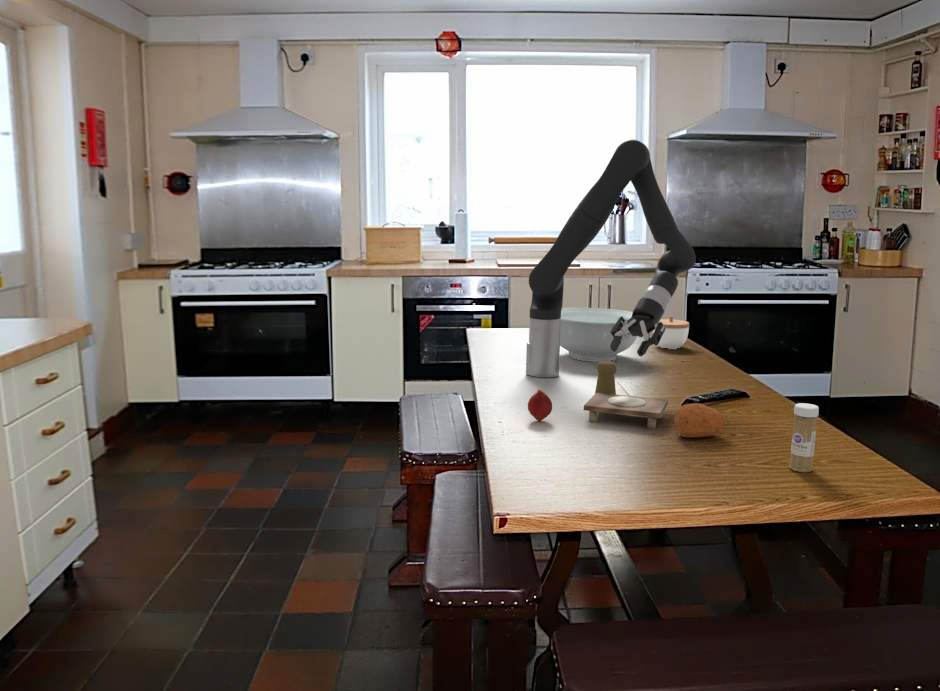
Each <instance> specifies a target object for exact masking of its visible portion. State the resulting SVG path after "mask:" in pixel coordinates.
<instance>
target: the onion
mask: <svg viewBox="0 0 940 691" xmlns="http://www.w3.org/2000/svg"><path fill="white" fill-rule="evenodd" d="M527 409H528V412H529V414H530V415H531V416H532V417H533V418H534V419H535V420H536V422H541V421H543V420H545V419H546V418H547V417H549V415H550V414H551V413H552V410H553V403H552V400H551V398H550V397H549V395H547V394H546V393H545V392H544V391H543V390H542V388H538V389H537V392H535V393H534V394H533V395H532V396H531V397H530V398H529V399H528V403H527Z"/></svg>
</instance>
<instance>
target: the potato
mask: <svg viewBox="0 0 940 691" xmlns="http://www.w3.org/2000/svg"><path fill="white" fill-rule="evenodd" d="M673 420H674V429H675V430H676V432H677V433H678V434H679V435H680V436H681V437H683V438H689V439H692V438H693V439H694V438H696V439H697V438H705V437H711V436H715V435H718V434H719V433H720V432H721V431H722V430H723V428H724V426H725V425H724V424H725V419H724V416H723V414H722V413H721V412H720V411H719V410H718V409H716V408H714V407H710V406H707V405H705V404H702V403H700V402H699V403H697V402H695V403H686V404H683V405H681V407H680V408H679V409H678V411H677V412H676V414H675V417H674V419H673Z"/></svg>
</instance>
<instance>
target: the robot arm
mask: <svg viewBox="0 0 940 691" xmlns="http://www.w3.org/2000/svg"><path fill="white" fill-rule="evenodd" d="M651 160H652V159H651V153H650V150H649V148H648V146H647V145H646V144H644V143H643V142H642V141H641V140H637V139H634V138H633V139H627V140H624V141H622V142H621V143H620V144H619V145H618V146H617V147H616V148H615V151H614V153H613V155H612V156H611V158H610V160H609V162H608V164H607V166H606V167H605V168H604V171H603V173H602V174H601V175H600V177H599V179H598V180H597V181H596V182H595V183H594V185H593V186H592V187H591V188H589V191H588V192H587V193H586V194H585V196H584V197H583V198H582V200H580V202H579V203H578V205H577V206H576V207H575V209H574V211H573V212H572V213H571V215H570V216H569V217H568V220H567V221H566V223H565V224H564V226H563V227H562V229H561V231H560V233H559V234H558V235H557V238H556V240H554V243H553V244H552V246H551V247H550V249H549V250H548V251H547V253H545V255H544V256H543V257H542V258H541V260H540V261H539V262H538V263H537V264H536V266H534V268H533V269H532V270H531V272H530V273H529V275H528V285H529V286H528V287H529V288H530V290H531V292H532V294H531V303H530V307H529V322H528V323H529V325H528V327H529V328H528V342H527V343H526V362H525V375H526V376H531V377H536V378H554V377H558V376H559V375H560V350H561V346H560V326H561V310H562V308H563V301H564V285H565V284H564V282H565V281H564V280H565V279H564V276H565V275H566V273H567V271H568V270H569V268H570V266H571V264H572V263H573V262H574V261H575V259H577V257H578V256H579V255H580V254H581V253H582V252H584V250H585V249H586V248H587V247H588V246H589V245H590V244H591V242H592V241H594V239H595V238H596V237H597V235H598V234H599V232H600V231H601V229H602V228H603V227H604V225H605V224H606V222H607V221H608V219H609V218H610V216H611V214H612V212H613V211H614V208H615V206H616V204H617V201H618V200H619V197H620V195H621V194H622V192H623V191H624V190H625V188H626V187H627V186H628V185H629V183H630V182H631V184H632V186H633V188H634V189H635V192H636V195H637V197H638V199H639V202H640V205H641V209H642V213H643V215H644V218H645V220H646V223H647V225H648V227H649V230H650V232H651V234H652V237H653V239H654V241H655V242H656V244H659V245H665V246H666V247H667V248H668V250H667V251H665V252H664V253H663V254H662V255H661V256H660V258H659V259H658V261H657V264H656V268H655V272H654V276H653V277H652V279H651V281H650V282H649V285H648V286H647V287H646V289H645V290H644V292H643V293H642V295H641V296H640V298H639V300H638V301H637V303H636V305H635V307H634V308H633V310H632V312H633V313H632V317H631V318H630V319H629V320H627V319H624V318H623V317H620V318H619V319H618V321H617V322H616V324H615V325H614V327H613V328H612V330H611V332H610V333H611V334H612V336H613V337H614V339H613V341H612V342H611V344H610V348H611V350H612V351H613V352H616V350H617V349H618V347H619V345H620V343H621V341H622V340H623V339H625V338H629V337H631V336H637V337H638V338H643V340H642V342H641V343H640V345H639V347H638V349H637V350H636V353H637V355H638V356H639V357H643V356H644V355H646V353H647V352H648V349H649V347H651V346H653V345H654V346H659V345H658V344H659V342H660V340H661V338H662V336H663V333H664V331H665V327H664V325H663V323H662V322H659V321H660V319H663V315H664V314H665V312H666V310H667V309H668V307H669V305H670V302H671V300H672V297H673V296H674V294H675V293H676V290H677V288H678V286H679V280H678V277H677V276H678V275H679V274H682V273H684V272H687V271H689V270H691V269H692V268H694V266H695V265H696V259H697V258H696V254H695V250H694V248H693V247H692V245H691V244H690V243H689V241H688V240H687V238H686V237H685V236H684V235H683V234H682V232H681V231H680V230H679V228H678V226H677V223H676V221H675V219H674V216H673V215H672V214H673V213H672V211H671V210H670V208H669V206H668V203H667V202H666V199H665V198H664V195H663V192H662V190H661V188H660V186H659V184H658V181H657V178H656V175H655V172H654V169H653V165H652V164H653V163H652V161H651ZM627 329H628V330H629V333H627V332H626V330H627ZM616 330H617V331H616ZM653 330H655V331H654V333H653ZM623 333H624V334H623ZM651 333H652V335H651ZM622 334H623V335H622ZM620 335H622V336H620Z"/></svg>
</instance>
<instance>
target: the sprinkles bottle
mask: <svg viewBox="0 0 940 691" xmlns="http://www.w3.org/2000/svg"><path fill="white" fill-rule="evenodd" d="M819 409H820V408H819V406H818V405H816V404H812V403H807V402H806V403H804V402H801V403H800V402H798V403H796V404H794V408H793V414H794V415H793V416H794V419H793V428H792V429H793V430H792V438H791V444H790V445H791V446H790V447H791V448H790V461H789V465H788V466H789V467H788V468H789V469H791V470H792V471H794V472H797V471H798V473H810V472H812V471H813V470H814V468H813V465H814V463H813V462H814V455H815V444H816V436H817V420H818V417H819Z"/></svg>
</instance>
